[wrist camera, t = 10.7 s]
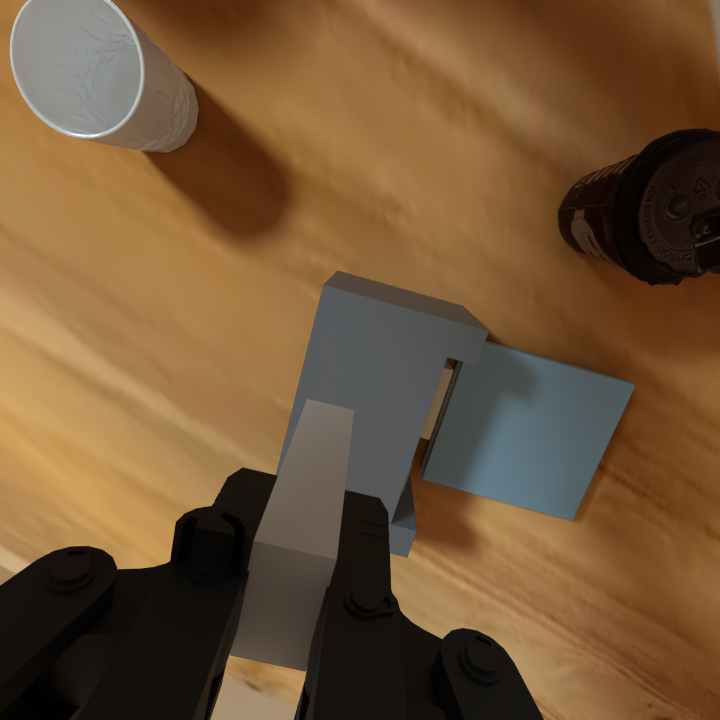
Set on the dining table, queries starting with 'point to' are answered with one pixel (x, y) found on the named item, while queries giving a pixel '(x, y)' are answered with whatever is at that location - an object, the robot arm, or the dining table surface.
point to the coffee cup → (652, 210)
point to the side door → (524, 429)
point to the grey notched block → (384, 381)
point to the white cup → (100, 76)
